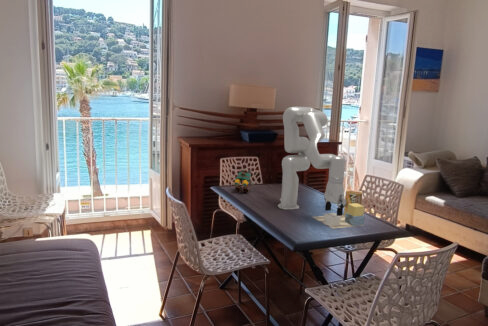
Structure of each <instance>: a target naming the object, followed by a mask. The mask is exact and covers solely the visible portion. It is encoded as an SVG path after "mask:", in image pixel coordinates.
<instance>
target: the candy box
mask: <svg viewBox="0 0 488 326" xmlns="http://www.w3.org/2000/svg"><path fill="white" fill-rule="evenodd" d="M362 198H363V191H360V190H352V189H346V191H345V196H344V199H345V200H346V204H345V206H344V208H343V215H344V216H345V213H347V206H348V204H352V203H358V204H360V205H362V200H363V199H362Z"/></svg>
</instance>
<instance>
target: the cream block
mask: <svg viewBox="0 0 488 326" xmlns="http://www.w3.org/2000/svg"><path fill="white" fill-rule="evenodd" d="M323 216H324V222H323V223H322V224H324V223H325V224H327V225H328V226H327V225H326V226H327V227H329V226H340V219H341V216H337V213H334V212H329V213H323ZM325 224H324V225H325Z"/></svg>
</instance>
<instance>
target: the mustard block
mask: <svg viewBox="0 0 488 326" xmlns="http://www.w3.org/2000/svg"><path fill="white" fill-rule="evenodd" d="M347 213H348V214H350V215H352V216H363V215H364V216H365V214H364V213H365V206H364V205H362V204H361V205H360V204H358V203H352V204H348V206H347Z"/></svg>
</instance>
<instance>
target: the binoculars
mask: <svg viewBox="0 0 488 326" xmlns="http://www.w3.org/2000/svg"><path fill="white" fill-rule="evenodd" d="M251 172H252V171H251V170H247V172H245V170H243V169H241V170H240V172H238V174H237V175H236V178H235V180H234V184H233V185H234V191H235V192H236V191H239V192H238V193H241V192H243V193H244V192H246V193H245V194H249V192H250V191H252V190H253V189H254V187H255V184H254V183H252V180H251V176H252V175H251ZM241 182H242V183H241ZM240 184H241V185H242V186H241V185H240ZM248 184H250V185H252V186H253V187H252V188H250V187H249V186H248ZM249 190H250V191H249Z"/></svg>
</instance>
